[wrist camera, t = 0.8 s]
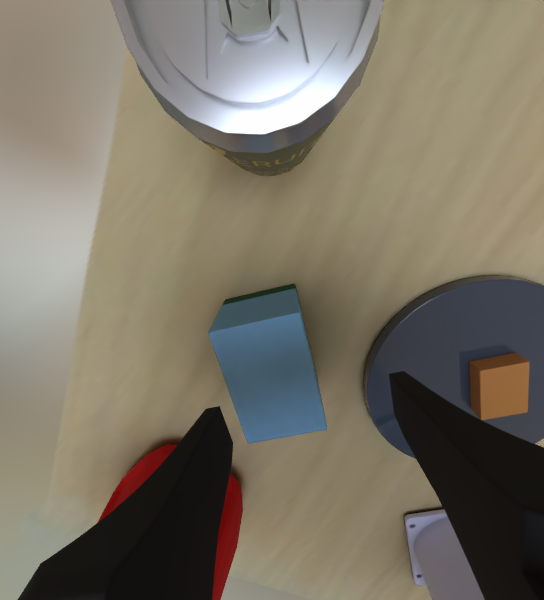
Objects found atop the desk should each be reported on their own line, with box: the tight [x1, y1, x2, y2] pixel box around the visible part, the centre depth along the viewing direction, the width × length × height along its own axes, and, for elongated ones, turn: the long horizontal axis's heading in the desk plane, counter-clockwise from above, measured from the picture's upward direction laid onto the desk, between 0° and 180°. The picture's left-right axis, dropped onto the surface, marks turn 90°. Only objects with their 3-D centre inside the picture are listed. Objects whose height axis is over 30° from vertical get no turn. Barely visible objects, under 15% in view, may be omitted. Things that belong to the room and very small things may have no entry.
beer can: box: [110, 0, 384, 176], centre depth 11 cm, size 5×5×12 cm
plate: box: [363, 275, 544, 459], centre depth 21 cm, size 15×15×1 cm
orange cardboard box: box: [469, 353, 530, 420], centre depth 20 cm, size 4×3×1 cm
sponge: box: [208, 284, 327, 444], centre depth 19 cm, size 8×5×5 cm, turn 14°
